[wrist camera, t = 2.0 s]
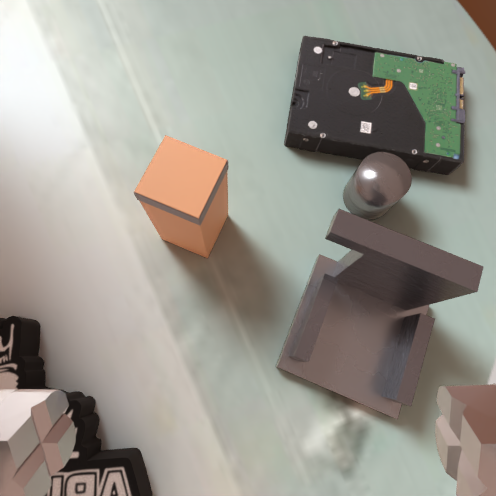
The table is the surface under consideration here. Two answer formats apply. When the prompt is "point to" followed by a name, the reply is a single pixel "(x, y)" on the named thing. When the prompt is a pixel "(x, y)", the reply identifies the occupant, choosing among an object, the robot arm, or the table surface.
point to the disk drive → (377, 105)
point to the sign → (81, 413)
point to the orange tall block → (185, 195)
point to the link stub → (377, 185)
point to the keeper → (372, 313)
